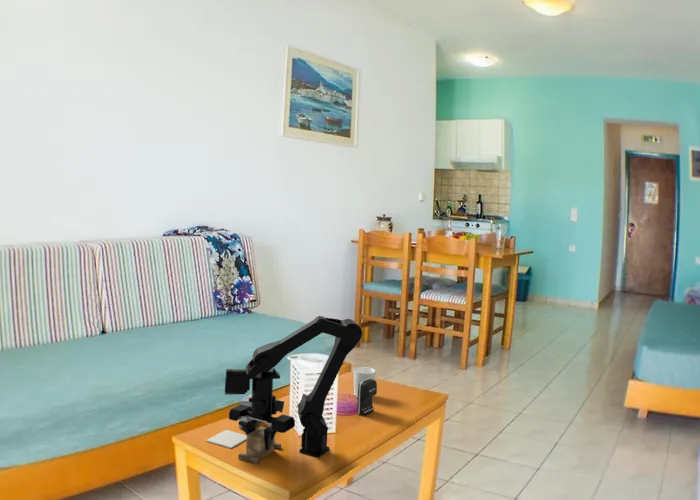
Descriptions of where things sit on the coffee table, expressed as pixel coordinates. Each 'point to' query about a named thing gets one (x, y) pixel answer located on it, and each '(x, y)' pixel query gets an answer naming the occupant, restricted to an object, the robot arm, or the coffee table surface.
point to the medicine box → (246, 403)
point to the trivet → (228, 439)
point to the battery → (366, 396)
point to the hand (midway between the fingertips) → (260, 447)
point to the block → (257, 444)
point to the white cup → (362, 376)
